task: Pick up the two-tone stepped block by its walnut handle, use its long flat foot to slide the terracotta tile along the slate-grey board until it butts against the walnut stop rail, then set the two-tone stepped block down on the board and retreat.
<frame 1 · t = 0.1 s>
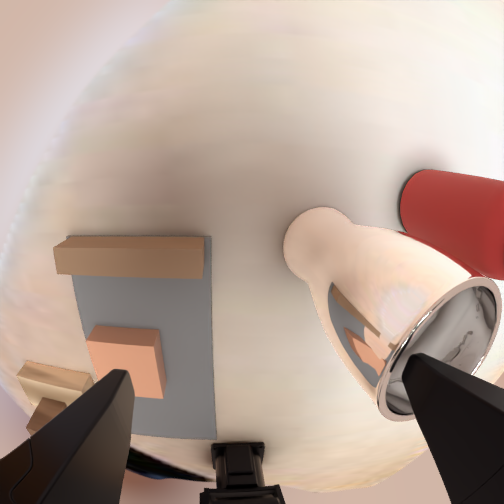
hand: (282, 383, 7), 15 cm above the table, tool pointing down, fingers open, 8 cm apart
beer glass: (319, 244, 22), on the table, touching gripper
beer can: (422, 204, 22), on the table
tile: (131, 354, 23), resting on slate board
two-tone stepped block: (66, 389, 25), on the table
slate board: (149, 362, 24), on the table
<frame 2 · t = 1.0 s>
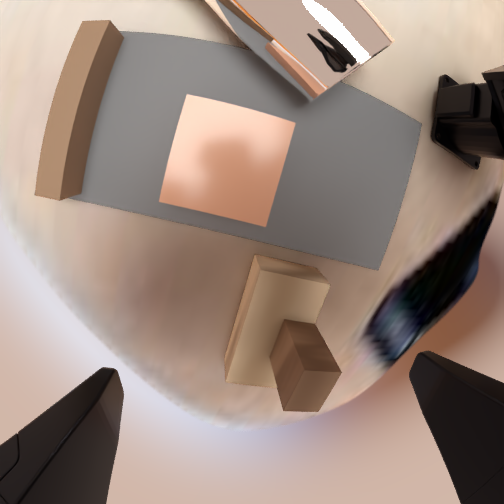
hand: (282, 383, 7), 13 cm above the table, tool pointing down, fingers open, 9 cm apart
tile: (225, 159, 17), resting on slate board
two-tone stepped block: (282, 318, 21), on the table
slate board: (247, 141, 17), on the table
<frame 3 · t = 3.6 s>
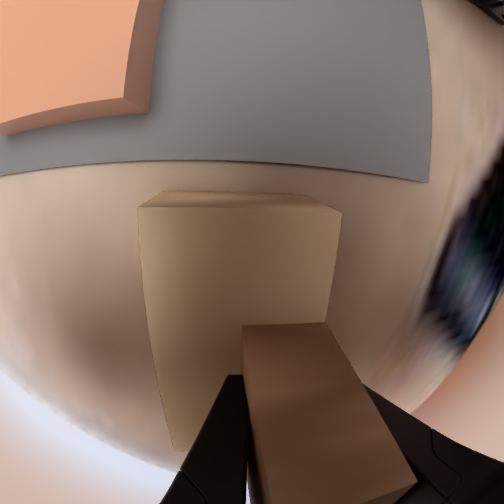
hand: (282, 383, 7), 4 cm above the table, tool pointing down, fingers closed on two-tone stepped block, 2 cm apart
tile: (77, 43, 6), resting on slate board
two-tone stepped block: (263, 317, 11), on the table, touching gripper
slate board: (112, 7, 6), on the table
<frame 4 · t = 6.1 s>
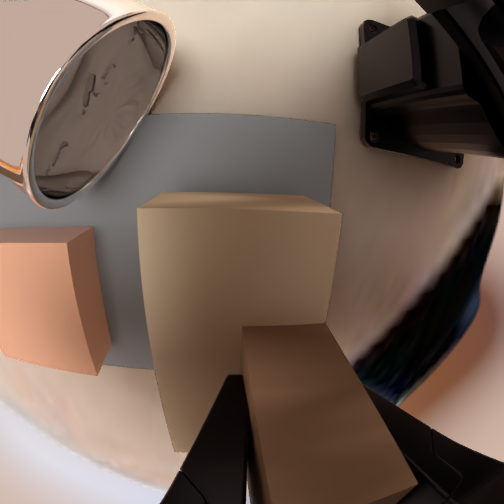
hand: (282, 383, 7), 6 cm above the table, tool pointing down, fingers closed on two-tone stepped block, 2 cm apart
tile: (50, 287, 11), resting on slate board
two-tone stepped block: (263, 317, 10), point 3 cm above the table, touching gripper
slate board: (63, 256, 11), on the table
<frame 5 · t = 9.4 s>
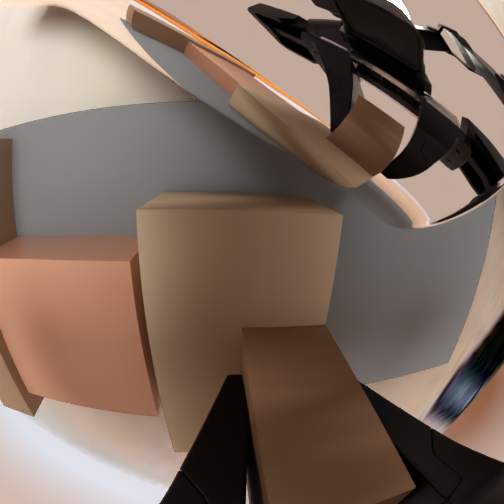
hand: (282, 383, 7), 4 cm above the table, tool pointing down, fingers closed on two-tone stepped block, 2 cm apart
tile: (86, 309, 10), resting on slate board
two-tone stepped block: (263, 318, 10), point 1 cm above the table, touching gripper
slate board: (264, 276, 10), on the table
when the fingers open (4 cm above the table, at t = 10.5 s): two-tone stepped block stays where it is, resting on slate board.
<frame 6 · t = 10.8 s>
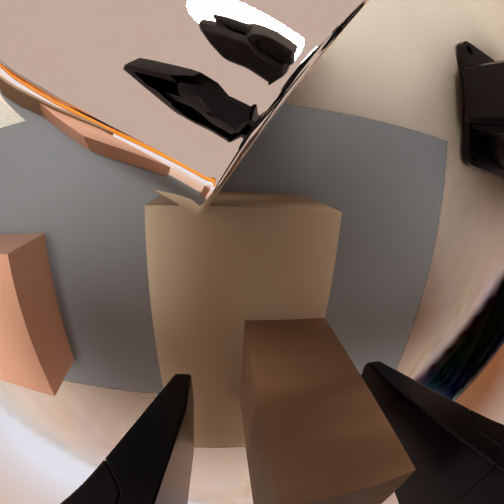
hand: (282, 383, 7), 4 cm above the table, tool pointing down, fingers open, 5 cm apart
tile: (10, 297, 9), resting on slate board
two-tone stepped block: (264, 314, 11), resting on slate board
slate board: (142, 272, 10), on the table
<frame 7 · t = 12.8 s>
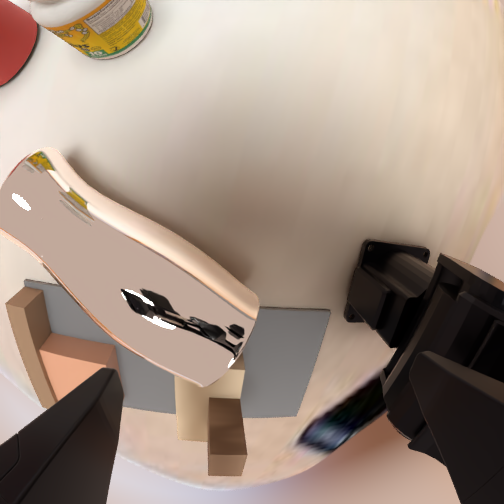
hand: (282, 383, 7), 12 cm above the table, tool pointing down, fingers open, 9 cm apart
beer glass: (24, 189, 13), point 3 cm above the table, touching slate board
supplement bottle: (116, 28, 13), on the table
beer can: (11, 51, 11), on the table
tile: (88, 366, 20), resting on slate board
two-tone stepped block: (221, 385, 22), resting on slate board
slate board: (165, 364, 21), on the table
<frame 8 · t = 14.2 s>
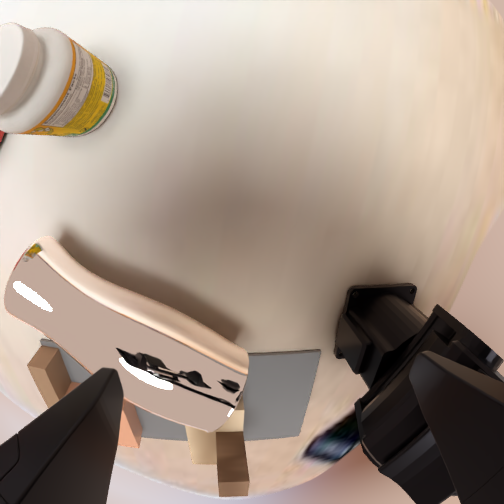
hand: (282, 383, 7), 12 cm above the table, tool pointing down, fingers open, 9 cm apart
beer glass: (27, 273, 14), point 3 cm above the table, touching slate board
supplement bottle: (83, 98, 14), on the table
tile: (107, 407, 22), resting on slate board
two-tone stepped block: (227, 416, 23), resting on slate board
slate board: (176, 403, 22), on the table
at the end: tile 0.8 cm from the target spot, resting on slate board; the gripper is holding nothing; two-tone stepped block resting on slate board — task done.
